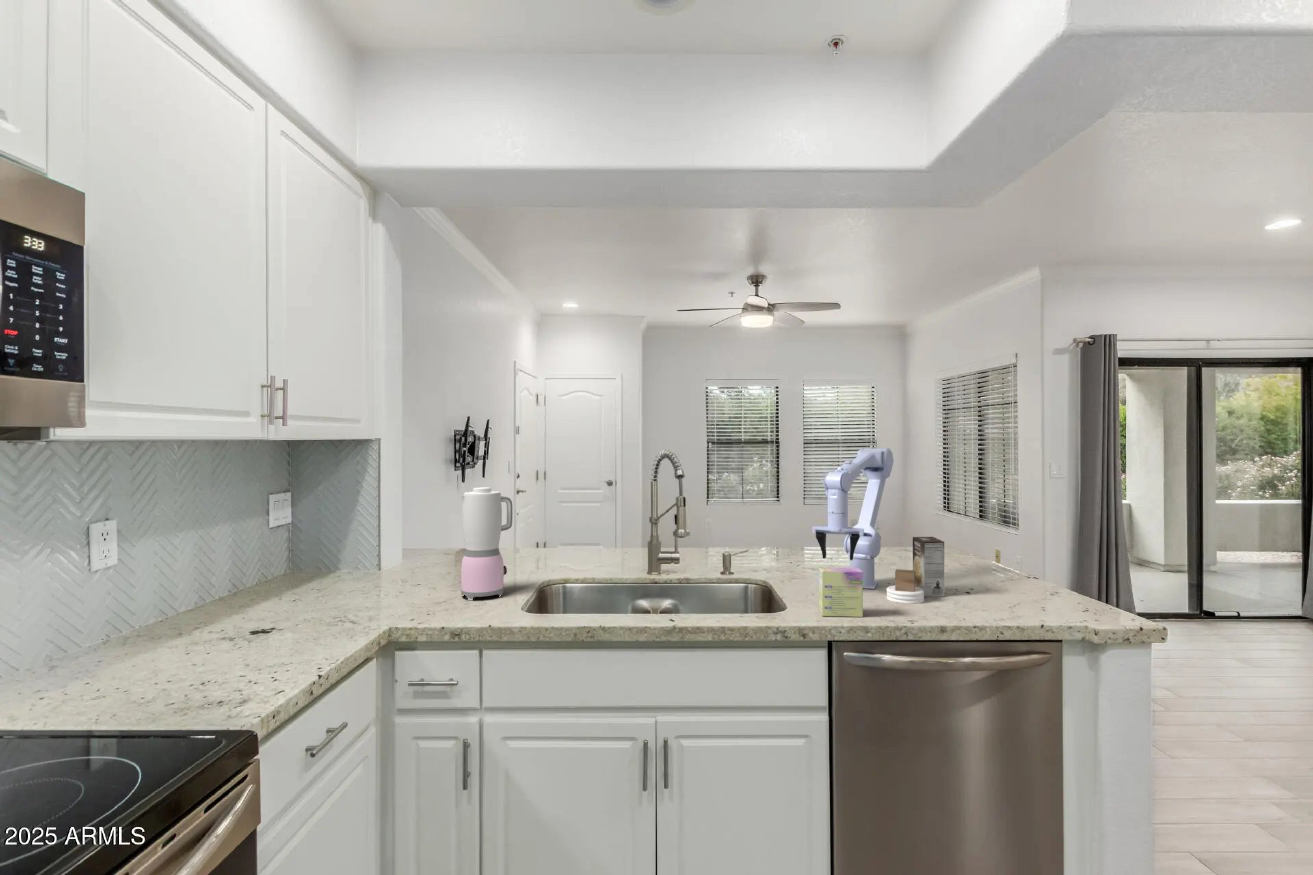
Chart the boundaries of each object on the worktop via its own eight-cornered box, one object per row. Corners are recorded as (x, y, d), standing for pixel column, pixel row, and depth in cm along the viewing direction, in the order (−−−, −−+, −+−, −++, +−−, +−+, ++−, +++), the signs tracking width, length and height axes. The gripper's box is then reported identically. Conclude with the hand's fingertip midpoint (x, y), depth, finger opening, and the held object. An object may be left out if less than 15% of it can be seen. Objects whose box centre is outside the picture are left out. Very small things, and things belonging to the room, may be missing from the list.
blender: (468, 603, 187) (467, 490, 187) (455, 594, 197) (454, 487, 197) (520, 595, 196) (520, 487, 196) (505, 587, 206) (504, 485, 206)
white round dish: (885, 603, 185) (885, 590, 185) (887, 595, 194) (887, 583, 194) (923, 606, 181) (923, 593, 181) (924, 598, 190) (924, 586, 190)
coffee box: (911, 589, 199) (911, 536, 199) (933, 589, 199) (932, 536, 199) (923, 596, 190) (923, 541, 190) (945, 596, 190) (945, 541, 190)
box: (858, 611, 175) (858, 567, 175) (863, 617, 169) (862, 571, 169) (818, 610, 176) (818, 566, 176) (821, 616, 170) (821, 570, 170)
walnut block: (896, 586, 190) (896, 569, 190) (915, 587, 188) (914, 570, 188) (895, 590, 186) (895, 572, 186) (914, 591, 184) (914, 573, 184)
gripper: (810, 512, 193) (810, 559, 193) (862, 514, 187) (862, 562, 187) (814, 510, 199) (814, 555, 199) (864, 512, 194) (864, 558, 194)
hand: (837, 558), depth 194 cm, fingers open, 7 cm apart
